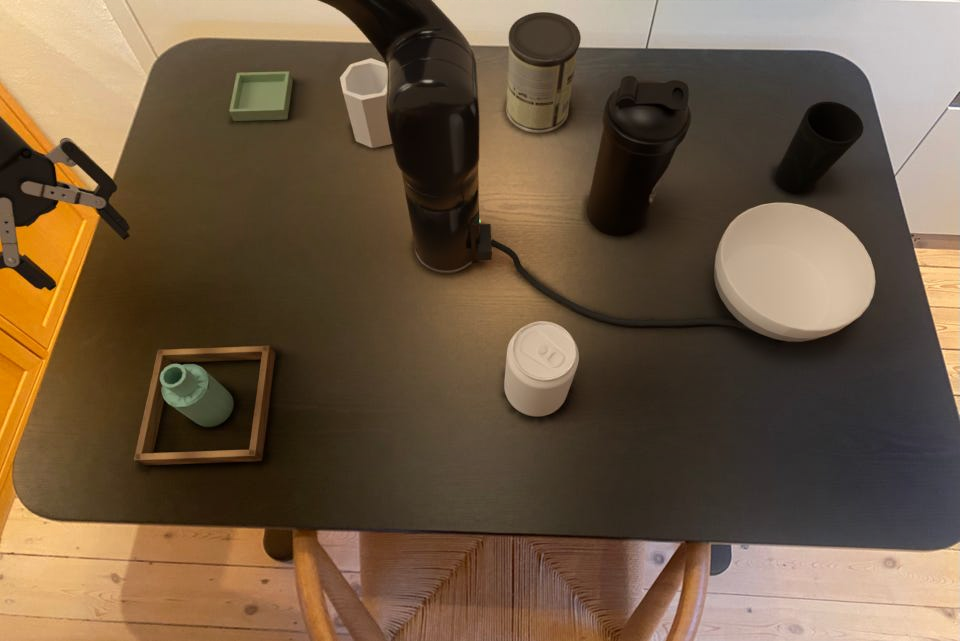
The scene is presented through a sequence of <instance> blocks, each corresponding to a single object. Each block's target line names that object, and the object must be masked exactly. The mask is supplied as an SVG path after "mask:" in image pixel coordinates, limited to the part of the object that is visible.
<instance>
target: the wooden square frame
mask: <svg viewBox="0 0 960 641" xmlns="http://www.w3.org/2000/svg"><path fill="white" fill-rule="evenodd" d="M255 360H260V366H259V374H258V380H257V388H256V395H255V403H254V412H253V418H252V425H251V435H250V441H249V447H248V449H227V450H226V449H225V450H223V449H222V450H200V451H199V450H198V451H174V452H155V447H156V442H157V436H158V432H159V428H160V423H161V418H162V413H163V407H164V402H165V399H164V398H163V395H162V384H161V381H160V375H161V372H162V371H163V370H164V369H165V367H167V366H169V365H171V364H178V363H203V362H229V361H255ZM275 362H276V352H275V351H274V350H273V349H272V348H271V346H270V345H255V346H230V347H229V346H227V347H200V348H199V347H198V348H172V349H170V348H169V349H158V350H157V353H156V357H155V361H154V366H153V370H152V377H151V379H150V385H149V389H148V393H147V398H146V403H145V407H144V412H143V416H142V421H141V424H140V425H141V426H140V430H139V434H138V440H137V444H136V448H135V453H134V457H133V461H134V462H136V463H139V464H140V465H143V466H164V465H185V464H186V465H189V464H215V463H217V464H218V463H241V462H243V463H244V462H245V463H246V462H262V461H263V458H264V457H263V456H264V450H265V441H266V432H267V425H268V416H269V409H270V400H271V392H272V384H273V376H274V368H275Z"/></svg>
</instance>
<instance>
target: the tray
mask: <svg viewBox="0 0 960 641" xmlns="http://www.w3.org/2000/svg"><path fill="white" fill-rule="evenodd" d="M293 82H294V80H293V78H292V75H291V72H290V71H289V70H287V71H285V70H284V71H254V72H251V71H250V72H236V75H235V80H234V85H233V90H232V94H231V100H230V104H229V109H228V112H229V114H230V117H231V119H232V120H233V122H248V121H249V122H250V121H251V122H252V121H284V120H288V118H289V112H290V104H291V97H292V90H293Z"/></svg>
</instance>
